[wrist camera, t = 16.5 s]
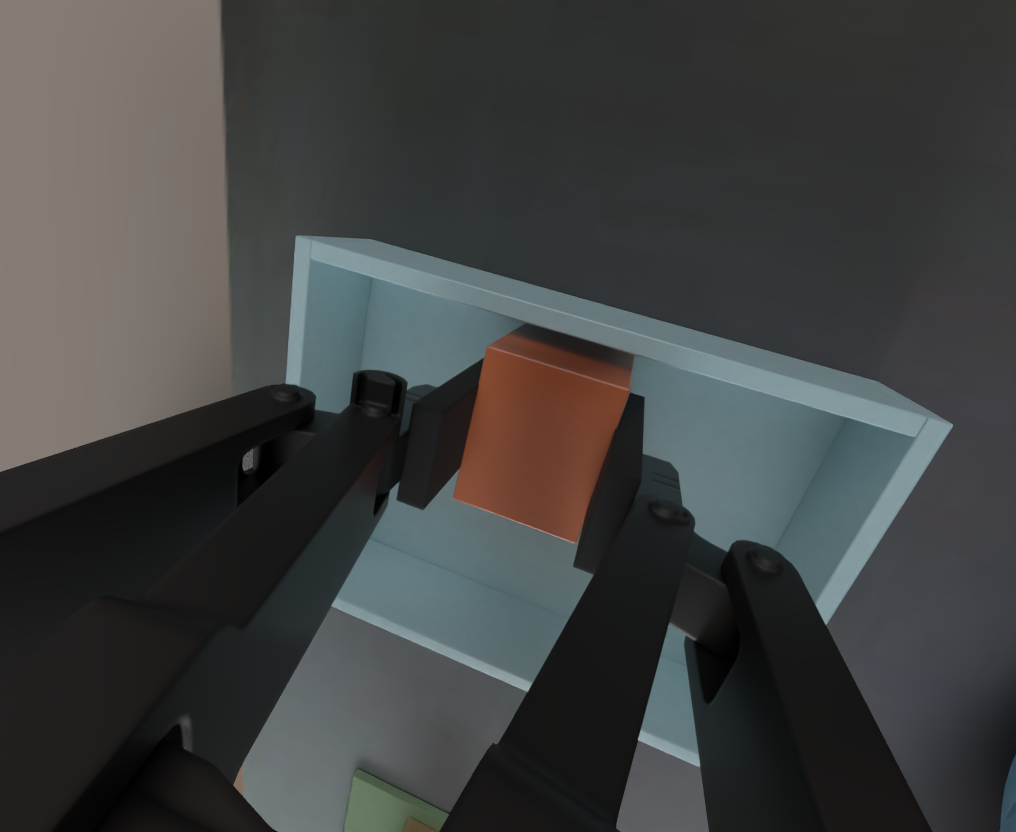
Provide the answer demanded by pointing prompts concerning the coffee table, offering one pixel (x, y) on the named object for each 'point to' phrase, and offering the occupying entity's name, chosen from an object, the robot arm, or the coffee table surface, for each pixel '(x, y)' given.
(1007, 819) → the teapot
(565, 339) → the terracotta piece
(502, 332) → the box
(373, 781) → the mat
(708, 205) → the coffee table surface
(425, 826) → the birch piece
